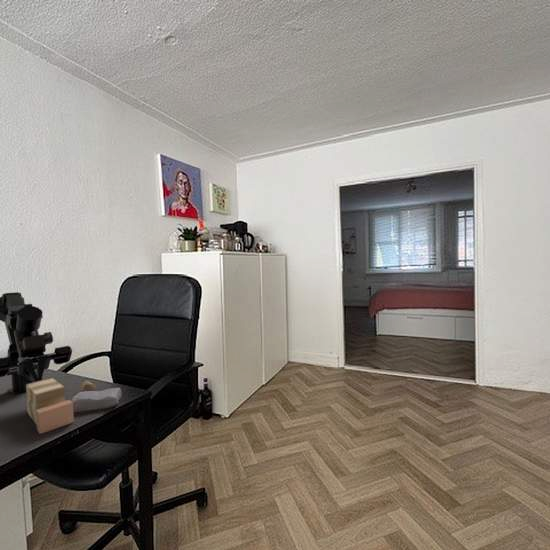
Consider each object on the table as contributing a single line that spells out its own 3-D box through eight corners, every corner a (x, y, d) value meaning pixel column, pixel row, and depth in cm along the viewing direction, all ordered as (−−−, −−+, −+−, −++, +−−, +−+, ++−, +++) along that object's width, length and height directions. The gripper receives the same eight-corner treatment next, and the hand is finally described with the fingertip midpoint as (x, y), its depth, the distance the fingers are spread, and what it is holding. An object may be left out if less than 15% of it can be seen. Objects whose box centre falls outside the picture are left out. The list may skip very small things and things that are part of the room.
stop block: (36, 429, 74) (35, 409, 74) (70, 418, 80) (69, 399, 80) (39, 433, 72) (38, 413, 72) (73, 422, 78) (72, 402, 78)
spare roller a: (78, 385, 98) (87, 378, 100) (83, 392, 99) (92, 385, 101) (83, 389, 95) (93, 382, 97) (88, 396, 96) (98, 389, 98)
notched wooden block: (27, 413, 84) (25, 384, 84) (53, 405, 88) (52, 377, 88) (37, 426, 76) (35, 394, 76) (66, 417, 80) (64, 387, 80)
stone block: (80, 406, 91) (67, 414, 82) (81, 390, 92) (69, 396, 83) (124, 402, 94) (116, 409, 85) (124, 385, 95) (117, 391, 86)
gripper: (-12, 330, 82) (-4, 379, 75) (68, 320, 96) (82, 360, 89) (-14, 355, 88) (-6, 402, 81) (62, 341, 102) (75, 381, 95)
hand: (39, 385), depth 86 cm, fingers closed, pressing on notched wooden block
